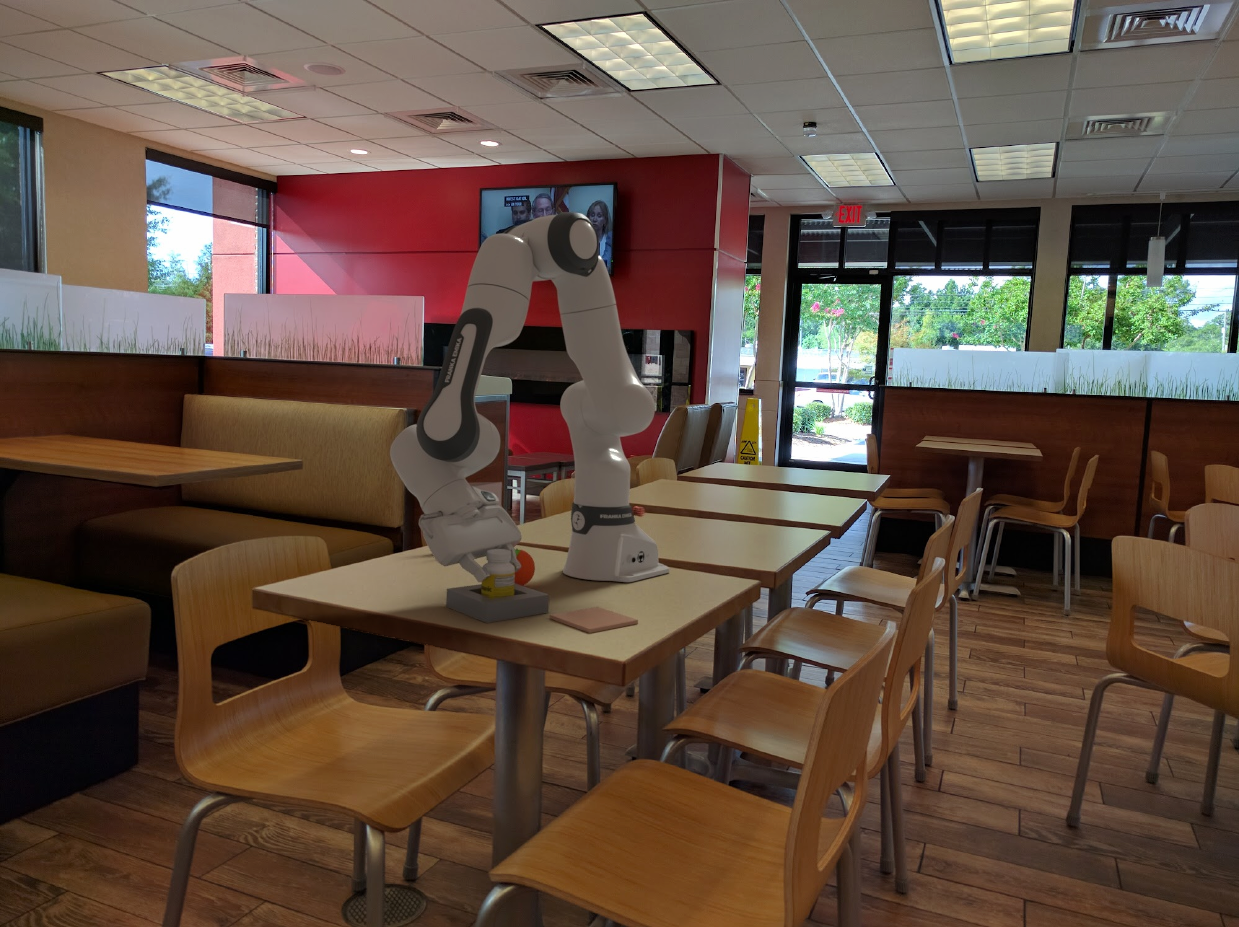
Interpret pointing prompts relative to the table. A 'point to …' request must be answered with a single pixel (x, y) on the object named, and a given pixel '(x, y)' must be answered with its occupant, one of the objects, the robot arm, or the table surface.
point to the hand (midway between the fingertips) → (501, 574)
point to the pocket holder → (497, 603)
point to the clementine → (524, 568)
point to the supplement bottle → (498, 574)
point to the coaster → (593, 619)
